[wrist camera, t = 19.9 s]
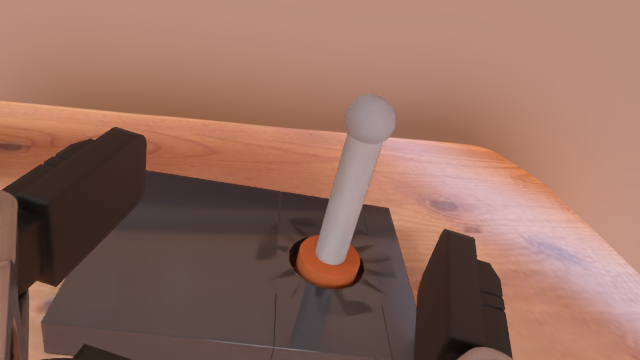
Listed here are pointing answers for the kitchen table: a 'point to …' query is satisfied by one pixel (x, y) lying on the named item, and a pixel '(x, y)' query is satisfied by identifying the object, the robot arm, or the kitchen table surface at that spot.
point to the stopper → (347, 196)
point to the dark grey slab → (231, 282)
